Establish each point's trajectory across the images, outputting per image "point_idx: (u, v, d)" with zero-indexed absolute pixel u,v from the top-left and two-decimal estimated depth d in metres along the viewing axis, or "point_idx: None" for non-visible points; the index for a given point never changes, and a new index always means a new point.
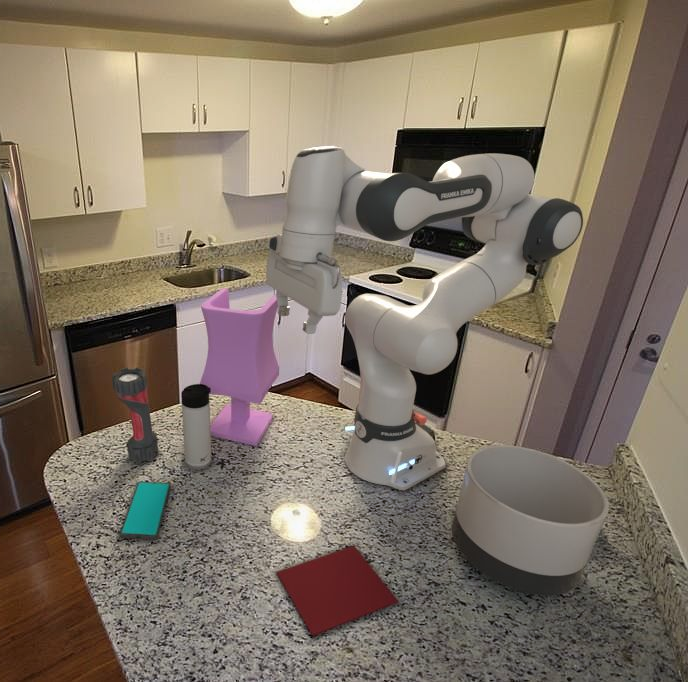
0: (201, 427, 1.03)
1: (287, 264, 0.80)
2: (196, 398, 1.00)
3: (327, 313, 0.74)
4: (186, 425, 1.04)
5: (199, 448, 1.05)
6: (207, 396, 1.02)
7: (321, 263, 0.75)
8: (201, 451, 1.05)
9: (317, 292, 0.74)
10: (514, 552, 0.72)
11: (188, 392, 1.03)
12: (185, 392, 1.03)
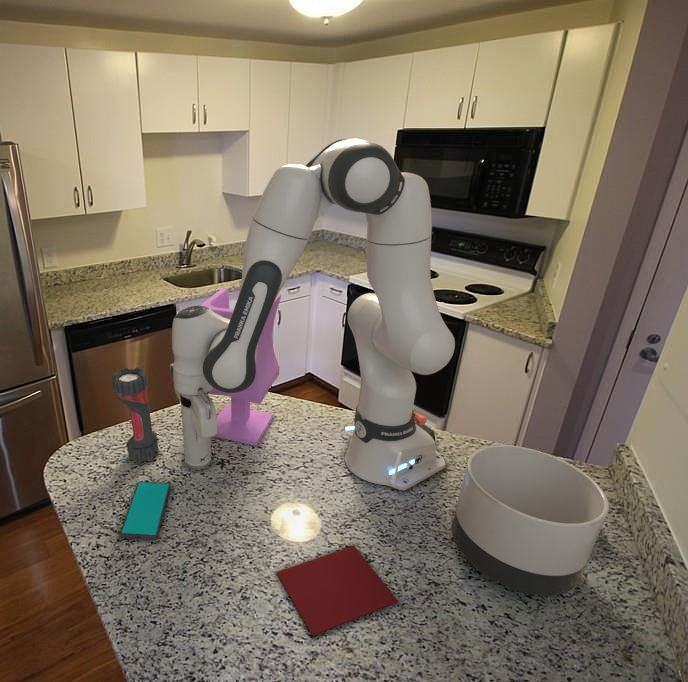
0: None
1: (180, 392, 1.02)
2: None
3: (206, 437, 0.96)
4: (185, 425, 1.04)
5: (198, 448, 1.05)
6: None
7: (200, 397, 0.97)
8: (200, 451, 1.05)
9: (198, 421, 0.96)
10: (514, 552, 0.72)
11: None
12: None
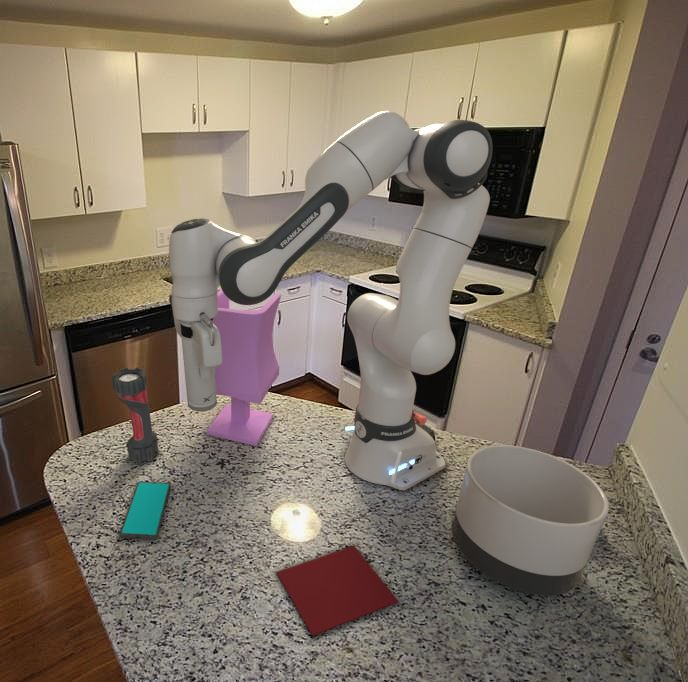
0: None
1: (180, 321, 0.91)
2: None
3: (210, 366, 0.85)
4: (187, 360, 0.93)
5: (202, 385, 0.94)
6: None
7: (203, 322, 0.86)
8: (204, 389, 0.95)
9: (200, 348, 0.85)
10: (514, 552, 0.72)
11: None
12: None
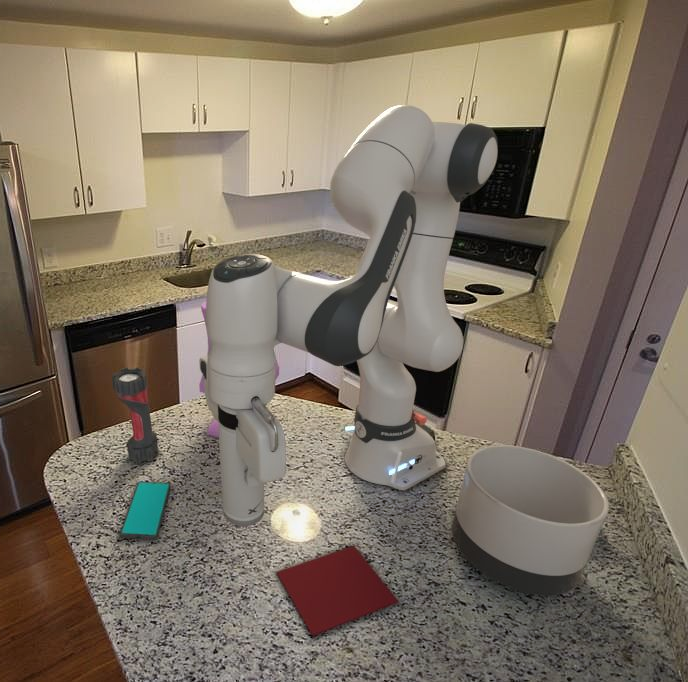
0: None
1: (219, 404, 0.61)
2: None
3: (269, 481, 0.56)
4: (226, 458, 0.63)
5: (247, 493, 0.65)
6: None
7: (257, 413, 0.56)
8: (250, 498, 0.65)
9: (253, 453, 0.56)
10: (514, 552, 0.72)
11: None
12: None
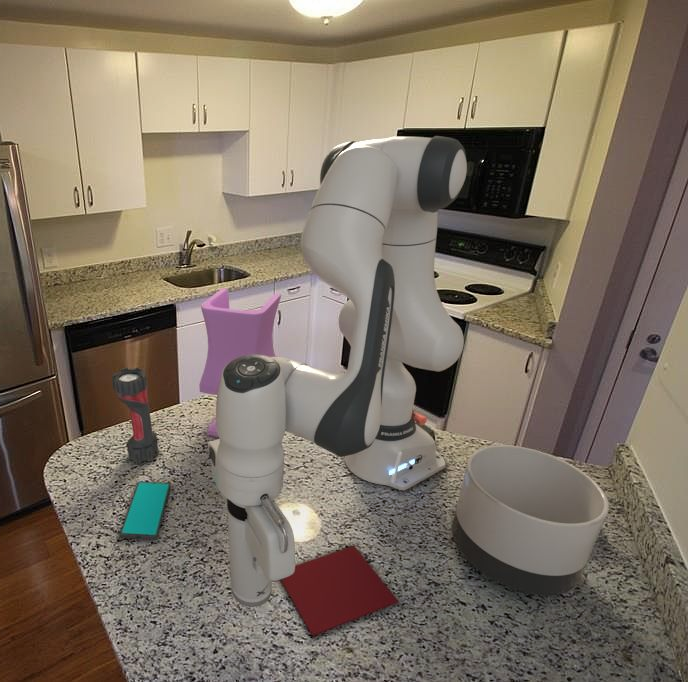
0: None
1: None
2: None
3: (278, 579, 0.57)
4: (235, 545, 0.65)
5: (255, 577, 0.66)
6: None
7: (266, 511, 0.58)
8: (258, 582, 0.67)
9: (263, 552, 0.57)
10: (514, 552, 0.72)
11: None
12: None
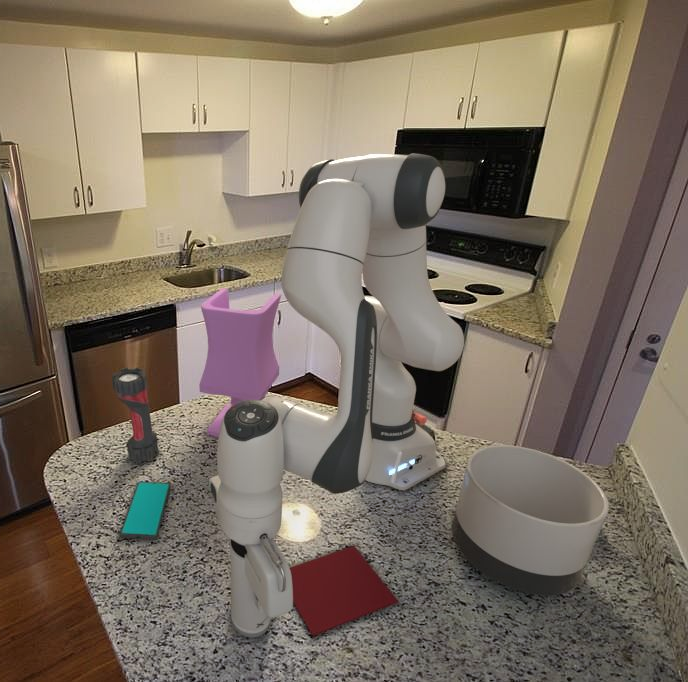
0: None
1: None
2: None
3: (277, 616, 0.60)
4: (238, 580, 0.67)
5: (256, 610, 0.69)
6: None
7: (265, 551, 0.60)
8: (258, 614, 0.69)
9: (262, 590, 0.60)
10: (514, 552, 0.72)
11: None
12: None
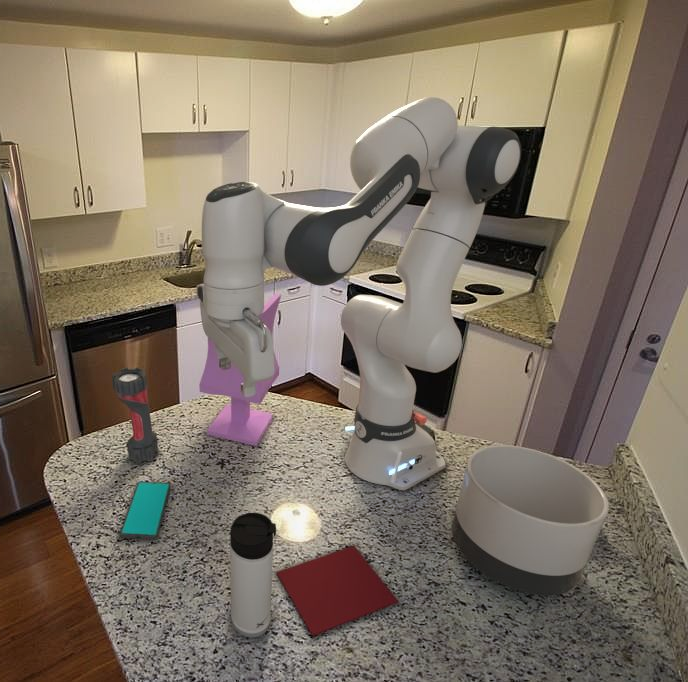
0: (260, 584, 0.67)
1: (214, 320, 0.69)
2: (256, 546, 0.64)
3: (259, 380, 0.64)
4: (237, 580, 0.67)
5: (256, 610, 0.69)
6: (271, 538, 0.66)
7: (248, 321, 0.64)
8: (258, 614, 0.69)
9: (245, 356, 0.64)
10: (514, 552, 0.72)
11: (241, 529, 0.67)
12: (236, 529, 0.67)
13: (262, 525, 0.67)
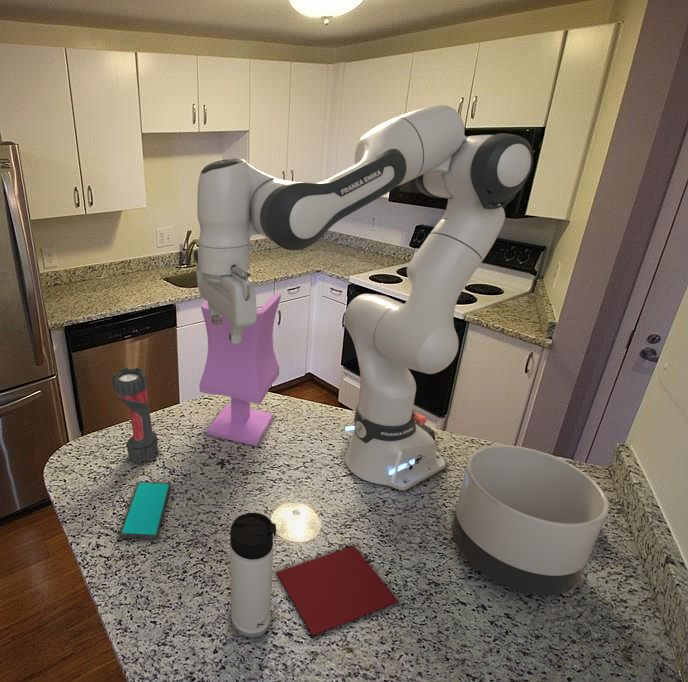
0: (260, 584, 0.67)
1: (207, 277, 0.81)
2: (256, 546, 0.64)
3: (243, 324, 0.76)
4: (237, 580, 0.67)
5: (256, 610, 0.69)
6: (271, 538, 0.66)
7: (235, 275, 0.76)
8: (258, 614, 0.69)
9: (232, 304, 0.76)
10: (514, 552, 0.72)
11: (241, 529, 0.67)
12: (236, 529, 0.67)
13: (262, 525, 0.67)
